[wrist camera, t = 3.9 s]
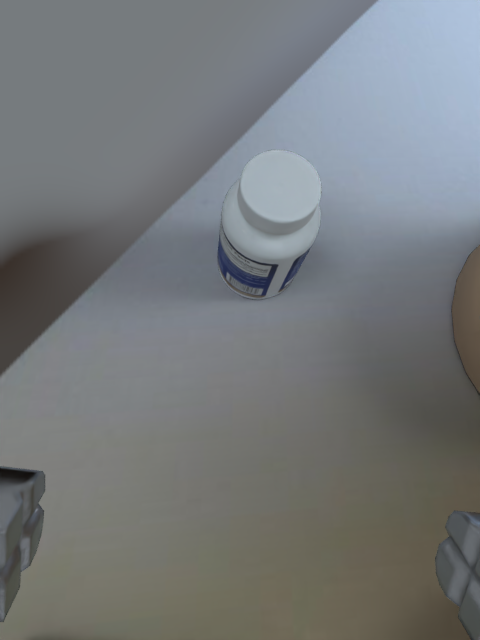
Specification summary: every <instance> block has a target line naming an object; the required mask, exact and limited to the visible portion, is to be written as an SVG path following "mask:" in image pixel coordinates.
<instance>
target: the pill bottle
mask: <svg viewBox="0 0 480 640" xmlns="http://www.w3.org/2000/svg"><path fill="white" fill-rule="evenodd" d="M321 193H322V187H321V181H320V178H319V175H318V173H317V171H316V170H315V168H314V167H313V166H312V164H311V163H310V162H309V161H308V160H306V159H305V158H303V157H302V156H300V155H298V154H296V153H294V152H291V151H286V150H269V151H265V152H262V153H260V154H258V155H256V156H255V157H253V158H252V159H251V160H250V161H249V162H248V163H247V164H246V166H245V167H244V169H243V171H242V174H241V177H240V179H238V180H237V181H236V182H235V183H234V184H233V185H232V187H231V188H230V189H229V191H228V193H227V194H226V197H225V199H224V202H223V206H222V212H221V224H220V235H219V246H218V268H219V272H220V275H221V277H222V279H223V281H224V282H225V283H226V285H227V286H228V287H229V288H230V289H231V290H233V291H234V292H236V293H237V294H239V295H241V296H243V297H246V298H250V299H257V300H259V299H266V298H270V297H273V296H275V295H277V294H279V293H281V292H282V291H284V290H285V289H286V288H287V287H288V286H289V284H290V283H291V282H292V280H293V279H294V277H295V275H296V273H297V271H298V269H299V268H300V266H301V264H302V262H303V261H304V259H305V257H306V255H307V253H308V252H309V250H310V248H311V246H312V245H313V243H314V241H315V239H316V237H317V234H318V231H319V228H320V223H321V212H320V206H319V201H320V198H321Z"/></svg>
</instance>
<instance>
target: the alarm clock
mask: <svg viewBox="0 0 480 640" xmlns="http://www.w3.org/2000/svg"><path fill="white" fill-rule="evenodd" d="M452 319H453V329H454V339H455V343H456V346H457V349H458V352H459V354H460V357H461V360H462V363H463V366H464V368H465V371H466V373H467V375H468V376H469V378H470V380H471V381H472V383H473V384H474V386H475V387H476V389H477V390H478V392H479V394H480V245H479V246H478V247H477V248H476V249H475V250H474V251H473V252H472V253H471V254H470V255H469V257H468V259H467V261H466V263H465V265H464V266H463V268H462V270H461V272H460V274H459V276H458V278H457V281H456V287H455V293H454V299H453V304H452Z"/></svg>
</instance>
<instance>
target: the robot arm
mask: <svg viewBox="0 0 480 640" xmlns="http://www.w3.org/2000/svg"><path fill="white" fill-rule="evenodd" d="M44 492H45V474H44V472H43V471H37V470H29V469H20V468H12V467H3V466H0V622H4V620H5V617H6V615H7V613H8V611H9V609H10V607H11V605H12V603H13V601H14V599H15V597H16V594H17V592H18V590H19V588H20V576H21V572H22V571H23V570H25V569H26V568H28V567H29V566H30V565H31V563H32V560H33V558H34V556H35V554H36V551H37V548H38V544H39V541H40V538H41V534H42V528H43V521H44V510H43V509H42V507H41V506H40V505H39V501H40V499H41V498H42V496H43V494H44ZM445 528H446V530H447V532H448V535H449V537H448V538H447V539H445V540H444V541H443V542H442V543H441V544H439V547H438V550H437V554H436V557H435V565H436V575H437V578H438V581H439V585H440V586H441V588H442V590H443V592H444V594H445V595H446V597H448V598H449V599H450V600H451V601H453V602H454V603H455V604H456V605H458V606H459V613H458V618H459V620H460V621H461V623H462V625H463V626H464V628H465V630H466V632H467V633H468V635H469V637H470V638H471V640H480V513H477V512H465V511H453V513H452V514H451V515H450V516H449V517H448V520H447V523H446V526H445Z"/></svg>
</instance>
